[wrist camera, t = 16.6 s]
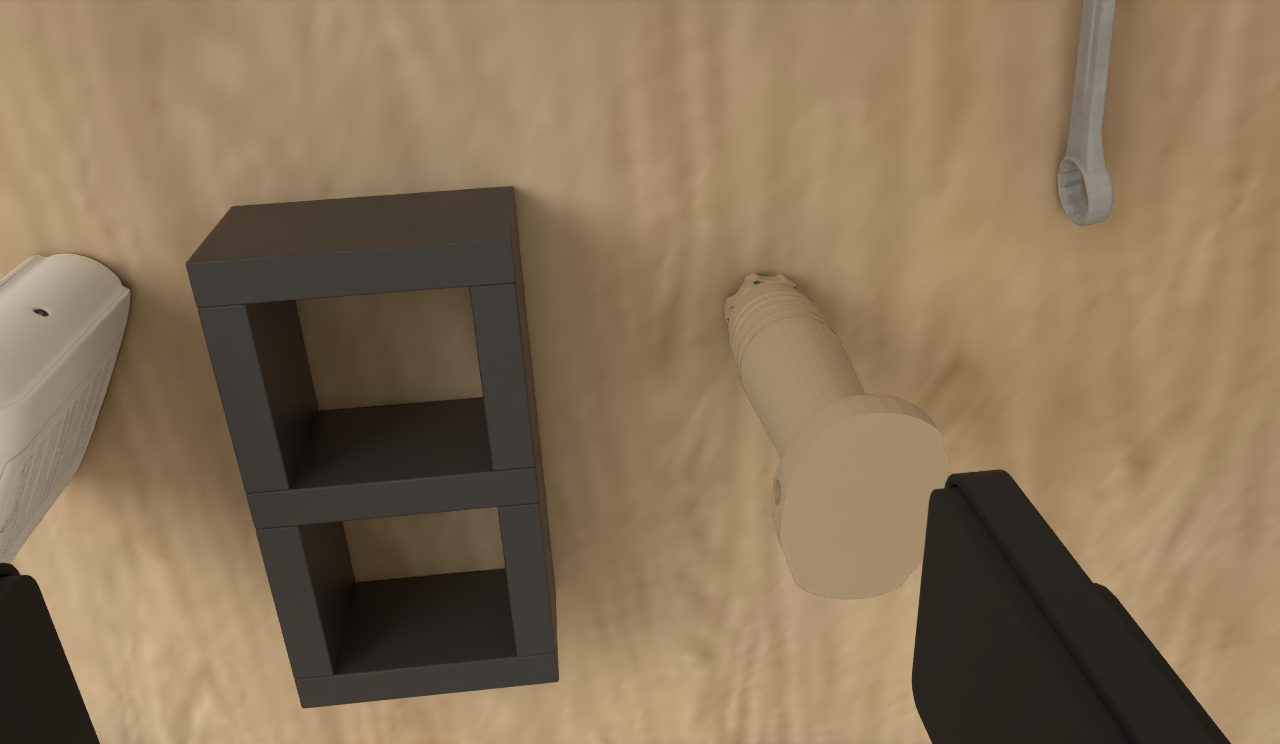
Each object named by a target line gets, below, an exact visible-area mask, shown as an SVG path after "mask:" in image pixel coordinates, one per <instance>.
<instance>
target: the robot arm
mask: <svg viewBox="0 0 1280 744" xmlns="http://www.w3.org/2000/svg"><path fill="white" fill-rule="evenodd" d="M912 690H913V696H914V700H915V704H916V708H917V710H918V713H919V715H920V717H921V720H922V722H923V724H924V726H925V728H926V731H927V733H928V735H929V737H930V740H931V742H932V744H1231V743H1230V742H1229V740H1228V739H1227V738H1226V737H1225V735H1224V734H1223V733H1222V731H1221V730H1220V729H1219V728H1218V726H1217V725H1216V724H1215V723H1214V721H1213V720H1212V719H1211V717H1210V716H1209V715H1208V714H1207V712H1206V711H1205V710H1204V709H1203V707H1202V706H1201V705H1200V703H1199V702H1198V701H1197V700H1196V698H1195V697H1194V696H1193V695H1192V693H1191V692H1190V691H1189V689H1188V688H1187V687H1186V686H1185V684H1184V683H1183V682H1182V680H1181V679H1180V678H1179V677H1178V675H1177V674H1176V673H1175V672H1174V670H1173V669H1172V668H1171V666H1170V665H1169V664H1168V663H1167V661H1166V660H1165V659H1164V658H1163V656H1162V655H1161V654H1160V652H1159V651H1158V650H1157V649H1156V647H1155V646H1154V645H1153V644H1152V642H1151V641H1150V640H1149V638H1148V637H1147V636H1146V635H1145V633H1144V632H1143V631H1142V630H1141V628H1140V627H1139V626H1138V624H1137V623H1136V622H1135V621H1134V619H1133V618H1132V617H1131V615H1130V614H1129V613H1128V612H1127V610H1126V609H1125V608H1124V607H1123V605H1122V604H1121V603H1120V601H1119V600H1118V599H1117V598H1116V596H1114V595H1113V594H1112V593H1111V592H1110V591H1109V590H1108V589H1107V588H1106V587H1105V586H1102V585H1100V584H1097V583H1093V582H1092V581H1091V580H1090V578H1089V577H1088V576H1087V575H1086V573H1085V572H1084V571H1083V569H1082V568H1081V567H1080V565H1079V564H1078V563H1077V562H1076V560H1075V559H1074V558H1073V556H1072V555H1071V554H1070V552H1069V551H1068V550H1067V549H1066V547H1065V546H1064V545H1063V543H1062V542H1061V541H1060V539H1059V538H1058V537H1057V536H1056V534H1055V533H1054V532H1053V530H1052V529H1051V528H1050V526H1049V525H1048V524H1047V522H1046V521H1045V520H1044V519H1043V517H1042V516H1041V515H1040V513H1039V512H1038V511H1037V509H1036V508H1035V507H1034V506H1033V504H1032V503H1031V502H1030V500H1029V499H1028V498H1027V496H1026V495H1025V494H1024V493H1023V491H1022V490H1021V489H1020V487H1019V486H1018V485H1017V483H1016V482H1015V481H1014V480H1013V478H1012V477H1011V476H1010V475H1009V474H1008V473H1007V472H1006V471H1004V470H990V471H979V472H968V473H958V474H951V475H950V476H948V478H947V480H946V482H945V487H944V488H941V489H934V490H933V491H932V492H931V495H930V498H929V505H928V516H927V526H926V536H925V546H924V556H923V567H922V577H921V587H920V597H919V608H918V618H917V628H916V638H915V648H914V659H913V669H912ZM0 744H100V743H99V740H98V737H97V735H96V732H95V730H94V727H93V725H92V722H91V719H90V717H89V714H88V712H87V709H86V707H85V704H84V701H83V699H82V696H81V694H80V691H79V689H78V686H77V683H76V681H75V678H74V676H73V673H72V671H71V668H70V665H69V663H68V660H67V658H66V655H65V653H64V650H63V647H62V645H61V642H60V640H59V637H58V635H57V632H56V629H55V627H54V624H53V622H52V619H51V617H50V614H49V611H48V609H47V606H46V604H45V601H44V599H43V596H42V593H41V591H40V588H39V586H38V584H37V582H36V580H35V579H33V578H32V577H31V576H28V575H20V573H19V572H18V570H17V569H16V568H15V567H14V566H13V565H12V564H8V563H0Z"/></svg>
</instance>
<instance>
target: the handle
mask: <svg viewBox="0 0 1280 744" xmlns="http://www.w3.org/2000/svg"><path fill="white" fill-rule="evenodd" d="M724 315H725V320H726V323H727V324H728V331H729V341H730V347H731V351H732V355H733V359H734V363H735V366H736V370H737V373H738V375H739V378H740V381H741V383H742V386H743V388H744V391H745V393H746V395H747V397H748V399H749V400H750V402H751V404H752V406H753V408H754V410H755V411H756V413H757V415H758V417H759V419H760V421H761V422H762V424H763V426H764V428H765V430H766V432H767V433H768V435H769V437H770V439H771V441H772V443H773V445H774V447H775V448H776V450H777V452H778V454H779V456H780V458H781V460H780V462H779V464H778V466H777V469H776V472H775V476H774V479H773V495H772V517H773V521H774V525H775V529H776V532H777V536H778V539H779V542H780V545H781V547H782V550H783V553H784V556H785V559H786V561H787V564H788V567H789V569H790V572H791V574H792V577H793V579H794V582H795V584H796V585H797V586H798V587H800V588H802V589H803V590H805V591H807V592H809V593H811V594H814V595H816V596H821V597H825V598H830V599H843V600H850V599H864V598H869V597H875V596H879V595H882V594H884V593H887V592H890V591H892V590H894V589H896V588H898V587H900V586H902V584H903V583H904V582H905V581H906V580H907V579H908V577H909V576H910V575H911V574H912V573H913V572H914V570H915V569H916V568H917V567H918V566H919V564H920V563H921V562H922V561H923V556H924V546H925V536H926V526H927V516H928V505H929V498H930V495H931V492H932V491H933V490H934V489H941V488H944V487H945V482H946V480H947V478H948V476H950V475H951V469H950V465H949V461H948V457H947V453H946V449H945V446H944V442H943V439H942V435H941V432H940V430H939V429H938V428H937V426H936V425H935V423H934V422H933V421H932V419H931V418H930V417H929V416H928V415H927V414H926V413H925V412H924V411H922V410H921V409H920V408H918V407H917V406H915V405H913V404H911V403H910V402H908V401H906V400H903V399H899V398H896V397H892V396H884V395H875V394H873V395H866V393H865V391H864V389H863V387H862V385H861V383H860V381H859V379H858V377H857V375H856V372H855V370H854V368H853V366H852V364H851V362H850V360H849V358H848V355H847V353H846V351H845V349H844V347H843V345H842V343H841V341H840V340H839V338H838V336H837V335H836V333H835V332H834V330H833V328H832V327H831V325H830V324H829V322H828V321H827V320H826V318H825V317H824V316H823V314H822V313H821V312H820V311H819V310H818V308H817V307H816V306H815V305H814V304H813V303H812V302H811V301H810V300H809V299H808V298H807V297H806V296H805V295H803V294H802V293H800V292H799V291H798V290H796V285H795V284H794V283H793V282H792V281H791V280H790V279H788V278H787V277H785V276H784V275H782V274H777V275H776V276H771V277H766V276H761V275H758V274H757V273H752V274H749V275H747V276H745V278H744V282H743V284H742V286H741V287H740V289H739V290H738V291H737V292H736V293H735V294H734V295H733V296H731V297H728V298H727V299H726V301H725V306H724Z"/></svg>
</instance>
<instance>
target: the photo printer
mask: <svg viewBox="0 0 1280 744" xmlns="http://www.w3.org/2000/svg"><path fill="white" fill-rule="evenodd" d="M129 307H130V289H128V288H126V287H123V286H122V284H121V281H120V279H119V278H118V277H117V276H116V275H115V274H114V273H113V272H112V271H111V270H110V269H108V268H107V267H106V266H104V265H103V264H101V263H99V262H97V261H95V260H93V259H91V258H88V257H85V256H81V255H77V254H54V255H51V256H49V257H43V256H41V255H34V256H32V257H30V258H29V259H27V260H26V261H24V262H23V263H21V264H20V265H19V266H17V267H16V268H15V269H14V270H12V271H11V272H10V273H8V274H7V275H6V276H5V277H3V278H2V279H1V280H0V563H8V564H10V562H11V561H12V560H13V558H14V557H15V555H16V554H17V553H18V551H19V550H20V549H21V547H22V546H23V544H24V543H25V542H26V540H27V539H28V538H29V536H30V535H31V534H32V532H33V531H34V529H35V528H36V527H37V525H38V524H39V523H40V521H41V520H42V519H43V517H44V516H45V514H46V513H47V512H48V510H49V509H50V508H51V506H52V505H53V504H54V502H55V501H56V499H57V498H58V497H59V495H60V494H61V493H62V491H63V490H64V489H65V487H66V486H67V484H68V483H69V482H70V480H71V479H72V477H73V476H74V474H75V472H76V471H77V469H78V467H79V465H80V463H81V461H82V459H83V457H84V454H85V451H86V449H87V446H88V444H89V441H90V438H91V436H92V433H93V431H94V428H95V424H96V421H97V418H98V415H99V412H100V409H101V406H102V403H103V400H104V397H105V394H106V391H107V388H108V385H109V382H110V378H111V375H112V372H113V369H114V366H115V362H116V359H117V355H118V352H119V349H120V345H121V342H122V338H123V335H124V331H125V327H126V323H127V318H128V313H129Z"/></svg>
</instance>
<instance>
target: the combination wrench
mask: <svg viewBox="0 0 1280 744" xmlns="http://www.w3.org/2000/svg"><path fill="white" fill-rule="evenodd" d="M1115 5H1116V0H1083V5H1082V15H1081V24H1080V34H1079V43H1078V53H1077V63H1076V72H1075V82H1074V91H1073V101H1072V110H1071V120H1070V129H1069V135H1068V142H1067V148H1066V154H1065V158H1064V159H1063V160H1062V162H1061V164H1060V166H1059V170H1058V177H1057V183H1058V192H1059V197H1060V200H1061V204H1062V206H1063V209H1064V211H1065V213H1066V214H1067V216H1068V218H1069V219H1070V220H1071V221H1072V222H1073V223H1075V224H1076V225H1079V226H1086V225H1090V224H1095V223H1099V222H1102V221H1103V220H1105V219H1106V218H1107V217H1108V216H1109V215H1110V213H1111V210H1112V207H1113V200H1114V192H1113V184H1112V179H1111V176H1110V172H1109V170H1108V168H1107V166H1106V164H1105V161H1104V154H1103V147H1102V124H1103V114H1104V105H1105V96H1106V87H1107V78H1108V69H1109V60H1110V51H1111V42H1112V33H1113V23H1114V14H1115ZM1082 176H1083V178H1084V181H1085V184H1086V189H1087V194H1088V202H1087V200H1086V197H1085V194H1084V191H1083V185H1082Z"/></svg>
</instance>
